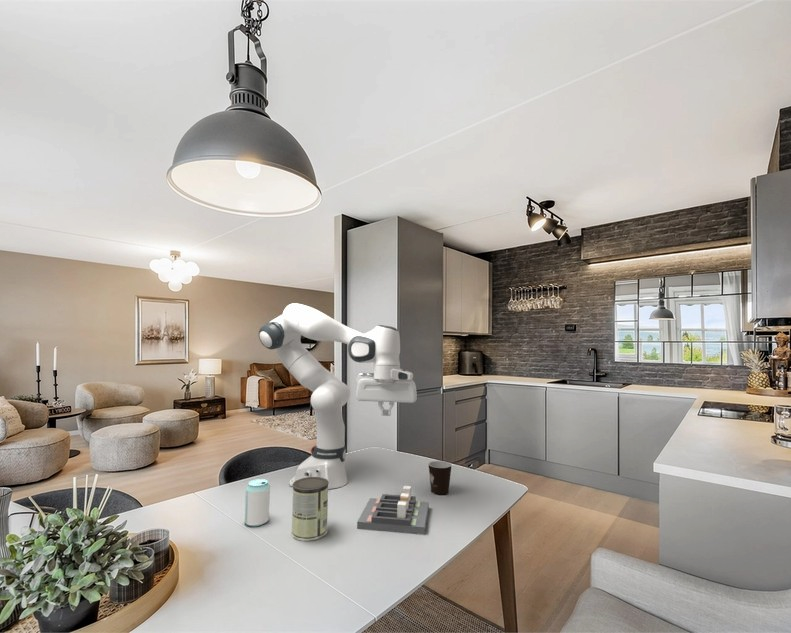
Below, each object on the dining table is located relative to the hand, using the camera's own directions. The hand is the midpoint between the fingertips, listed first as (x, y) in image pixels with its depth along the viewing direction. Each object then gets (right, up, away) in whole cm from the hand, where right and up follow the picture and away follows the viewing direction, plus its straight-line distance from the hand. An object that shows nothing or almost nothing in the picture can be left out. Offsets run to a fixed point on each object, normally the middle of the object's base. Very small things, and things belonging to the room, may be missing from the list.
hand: (386, 415), depth 130 cm
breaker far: (+7, -29, 0) cm, 30 cm away
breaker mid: (+6, -28, -7) cm, 30 cm away
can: (-39, -30, -11) cm, 51 cm away
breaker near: (+5, -28, -13) cm, 31 cm away
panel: (+3, -31, -7) cm, 32 cm away
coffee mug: (+20, -33, +17) cm, 42 cm away
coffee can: (-22, -30, -17) cm, 41 cm away
